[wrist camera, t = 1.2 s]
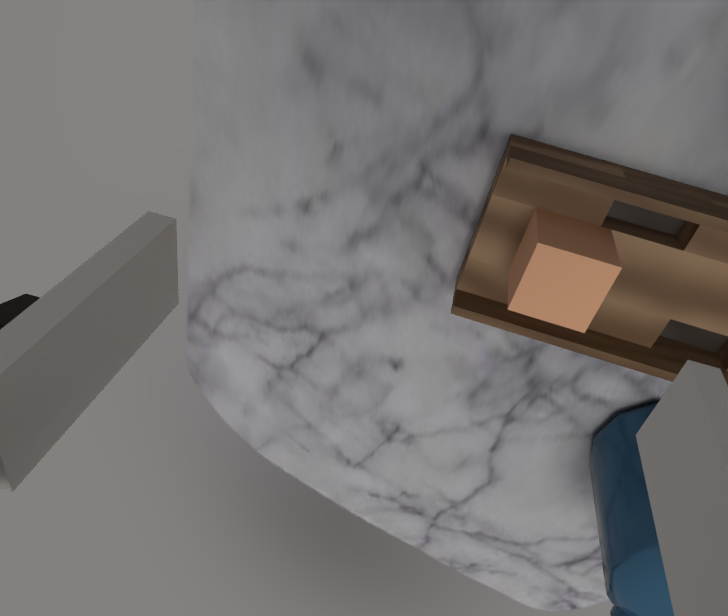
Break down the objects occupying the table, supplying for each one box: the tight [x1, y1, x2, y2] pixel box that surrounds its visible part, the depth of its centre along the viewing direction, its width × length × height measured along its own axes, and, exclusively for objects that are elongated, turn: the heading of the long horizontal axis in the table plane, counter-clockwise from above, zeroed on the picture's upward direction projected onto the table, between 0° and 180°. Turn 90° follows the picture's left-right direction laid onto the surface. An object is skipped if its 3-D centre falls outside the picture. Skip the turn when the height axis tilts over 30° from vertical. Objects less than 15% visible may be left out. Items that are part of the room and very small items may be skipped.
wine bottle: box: [590, 402, 674, 616], centre depth 42 cm, size 14×13×30 cm
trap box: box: [451, 134, 728, 386], centre depth 41 cm, size 13×30×6 cm, turn 78°
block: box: [508, 208, 622, 333], centre depth 40 cm, size 6×6×6 cm
